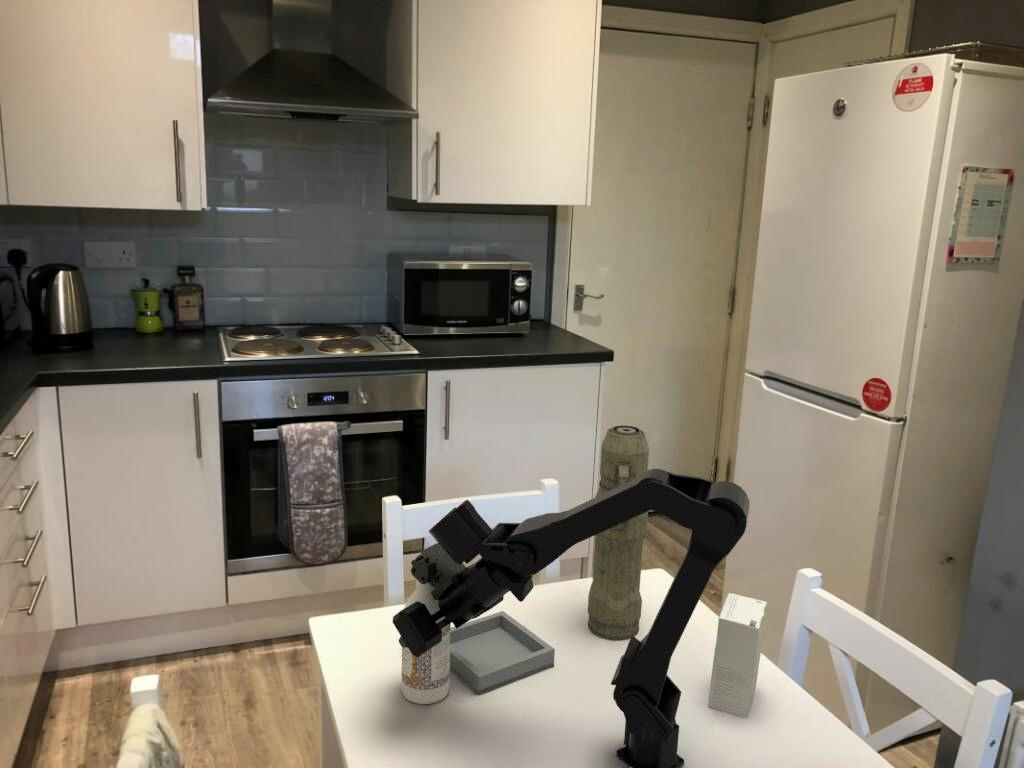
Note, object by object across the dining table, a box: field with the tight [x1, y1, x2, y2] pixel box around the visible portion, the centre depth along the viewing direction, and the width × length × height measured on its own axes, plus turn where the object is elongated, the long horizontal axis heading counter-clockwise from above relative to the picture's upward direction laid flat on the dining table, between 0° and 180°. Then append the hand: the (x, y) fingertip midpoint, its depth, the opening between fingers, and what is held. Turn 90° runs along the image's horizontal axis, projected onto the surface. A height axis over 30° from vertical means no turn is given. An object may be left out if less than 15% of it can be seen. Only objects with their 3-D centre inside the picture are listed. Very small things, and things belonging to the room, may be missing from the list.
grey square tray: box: [450, 610, 556, 696], centre depth 131 cm, size 14×14×3 cm
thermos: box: [587, 424, 650, 642], centre depth 138 cm, size 9×12×35 cm
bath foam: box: [401, 578, 452, 705], centre depth 120 cm, size 7×7×20 cm
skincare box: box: [707, 592, 768, 718], centre depth 122 cm, size 8×6×15 cm
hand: (418, 632), depth 121 cm, fingers open, 7 cm apart
